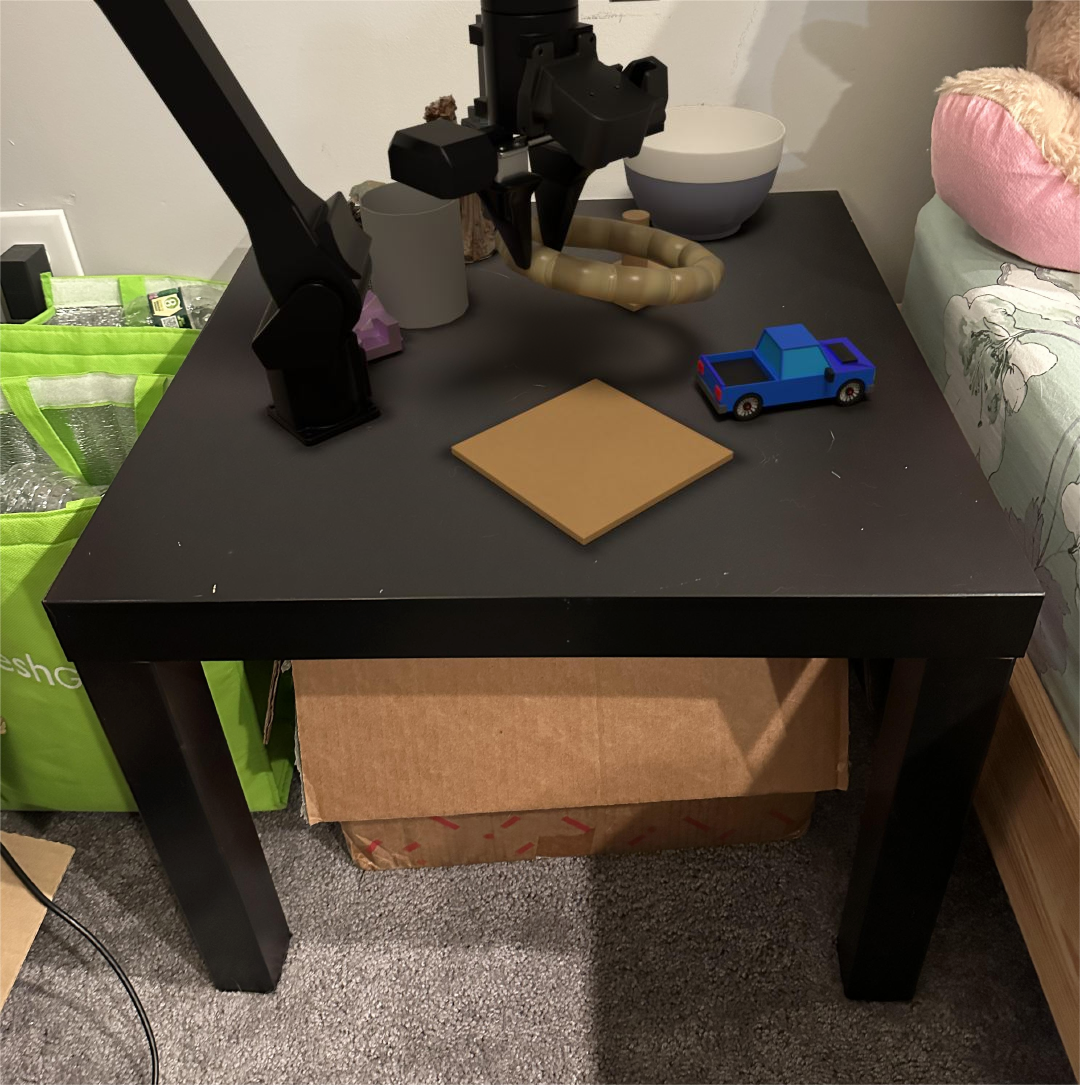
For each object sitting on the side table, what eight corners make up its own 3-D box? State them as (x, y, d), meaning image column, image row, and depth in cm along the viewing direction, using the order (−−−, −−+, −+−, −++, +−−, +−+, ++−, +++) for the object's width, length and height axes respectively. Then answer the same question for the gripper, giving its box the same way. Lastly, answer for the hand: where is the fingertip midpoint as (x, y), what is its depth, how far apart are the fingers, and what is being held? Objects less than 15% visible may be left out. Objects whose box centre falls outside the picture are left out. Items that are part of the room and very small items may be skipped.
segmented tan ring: (608, 320, 60) (615, 282, 59) (450, 248, 70) (453, 214, 69) (762, 297, 71) (771, 265, 69) (605, 237, 81) (610, 208, 79)
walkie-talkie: (512, 226, 101) (501, 13, 88) (484, 232, 99) (468, 18, 87) (493, 212, 104) (479, 5, 91) (465, 218, 103) (447, 9, 90)
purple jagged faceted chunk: (415, 350, 80) (407, 283, 76) (341, 374, 77) (328, 306, 73) (374, 316, 85) (364, 251, 81) (302, 337, 82) (288, 272, 79)
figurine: (461, 273, 92) (445, 108, 82) (417, 259, 95) (397, 98, 85) (510, 248, 96) (501, 88, 86) (467, 235, 99) (453, 79, 89)
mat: (583, 546, 59) (583, 538, 59) (451, 453, 68) (450, 446, 67) (733, 459, 66) (733, 451, 66) (595, 384, 75) (595, 378, 74)
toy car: (875, 408, 70) (889, 347, 67) (720, 430, 69) (727, 369, 66) (836, 365, 76) (847, 307, 72) (691, 385, 74) (696, 326, 71)
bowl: (738, 266, 91) (748, 163, 85) (592, 237, 97) (592, 139, 91) (796, 211, 101) (809, 116, 95) (660, 188, 108) (665, 98, 102)
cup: (453, 331, 82) (441, 217, 76) (363, 325, 84) (344, 213, 77) (477, 289, 89) (468, 181, 82) (393, 285, 90) (378, 178, 84)
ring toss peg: (633, 312, 84) (635, 239, 80) (573, 284, 89) (572, 214, 85) (695, 284, 88) (700, 214, 84) (634, 260, 93) (636, 191, 89)
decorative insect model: (324, 237, 97) (326, 187, 95) (353, 218, 107) (355, 171, 104) (409, 252, 97) (413, 201, 94) (431, 231, 106) (434, 184, 104)
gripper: (493, 57, 46) (509, 348, 56) (741, -3, 55) (717, 256, 65) (365, 25, 53) (400, 290, 62) (606, -24, 62) (603, 214, 72)
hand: (538, 262), depth 65 cm, fingers closed on segmented tan ring, 2 cm apart
